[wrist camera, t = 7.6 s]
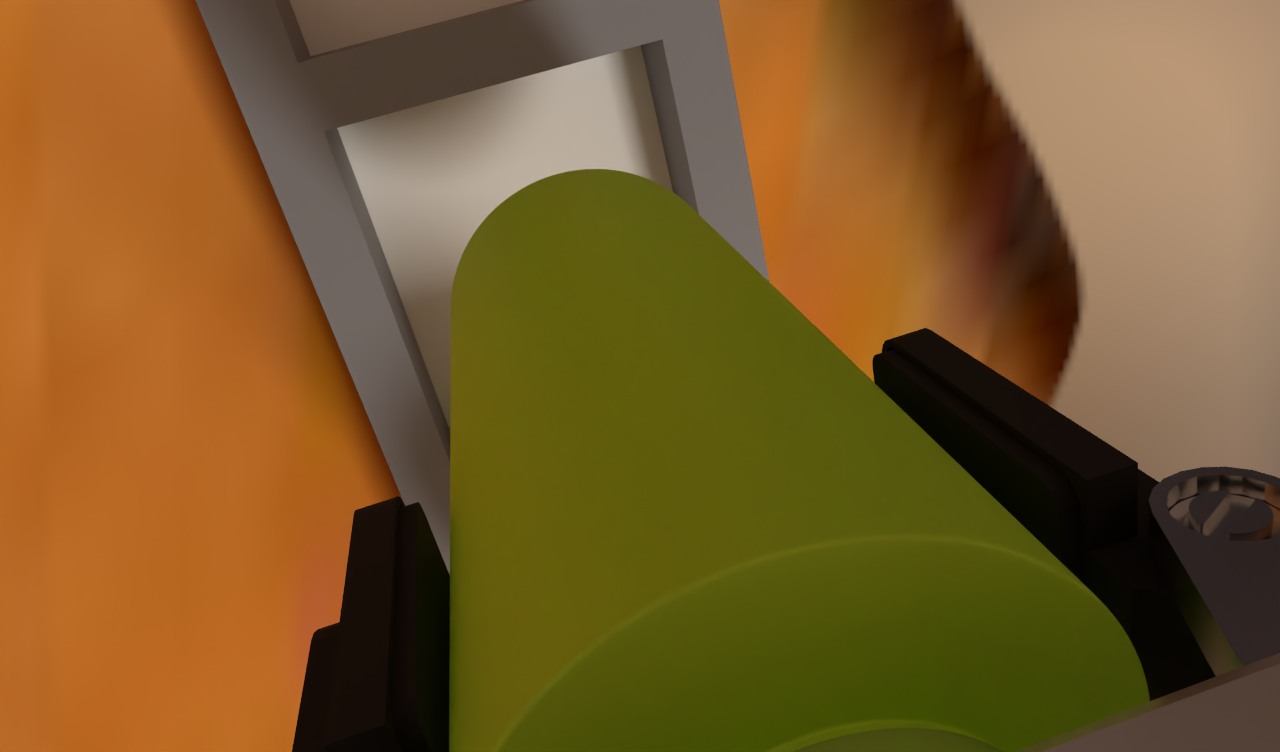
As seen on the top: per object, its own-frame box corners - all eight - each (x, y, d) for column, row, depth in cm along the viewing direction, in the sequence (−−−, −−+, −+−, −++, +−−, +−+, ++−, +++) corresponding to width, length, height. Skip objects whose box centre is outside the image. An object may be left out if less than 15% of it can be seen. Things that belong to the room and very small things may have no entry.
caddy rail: (221, -16, 22) (23, -33, 11) (654, -124, 23) (868, -238, 12) (525, 744, 33) (579, 1114, 22) (806, 644, 34) (989, 946, 23)
